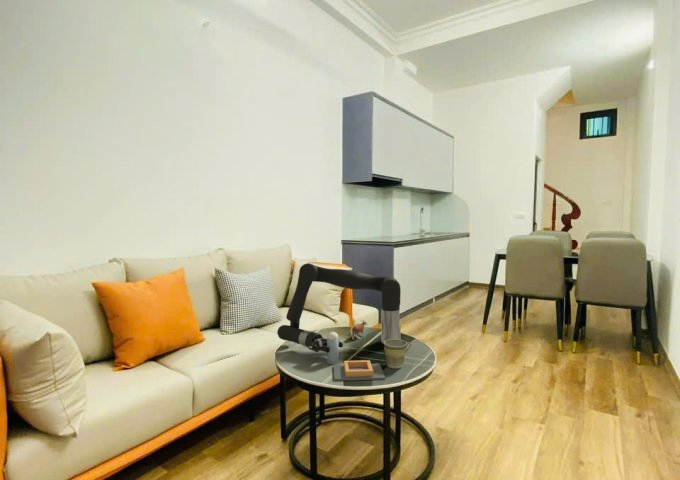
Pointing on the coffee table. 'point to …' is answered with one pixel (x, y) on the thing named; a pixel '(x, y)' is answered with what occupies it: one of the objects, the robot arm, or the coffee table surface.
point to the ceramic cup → (395, 352)
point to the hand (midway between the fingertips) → (335, 347)
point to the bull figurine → (358, 329)
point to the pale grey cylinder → (333, 348)
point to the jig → (358, 371)
